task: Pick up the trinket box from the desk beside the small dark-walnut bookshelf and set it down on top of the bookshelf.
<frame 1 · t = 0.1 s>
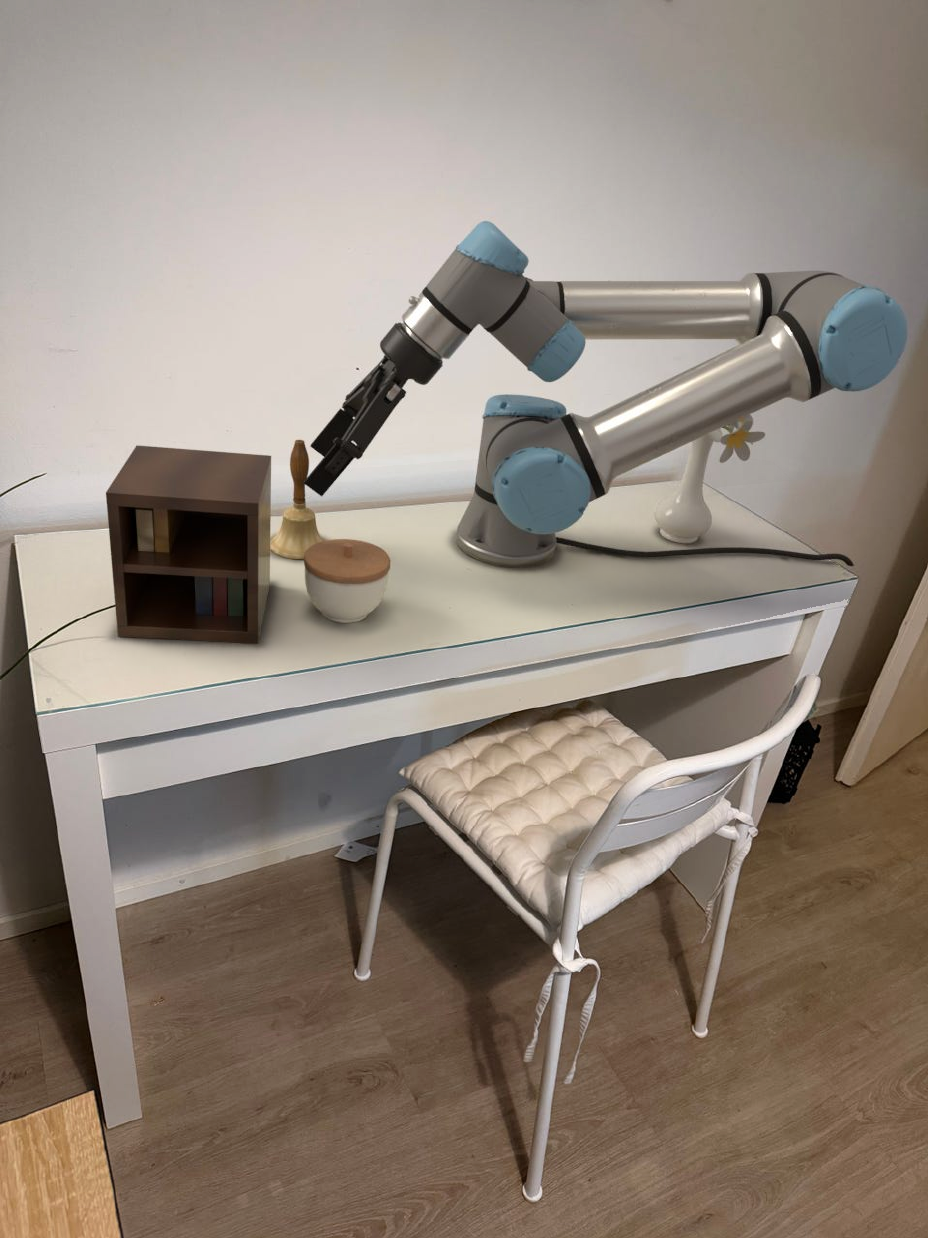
hand: (315, 469, 118), 15 cm above the table, tool tilted 35°, fingers open, 13 cm apart
hand bell: (298, 548, 132), on the table
trinket box: (344, 612, 118), on the table
flower vase: (682, 538, 152), on the table
bookshelf: (198, 608, 114), on the table
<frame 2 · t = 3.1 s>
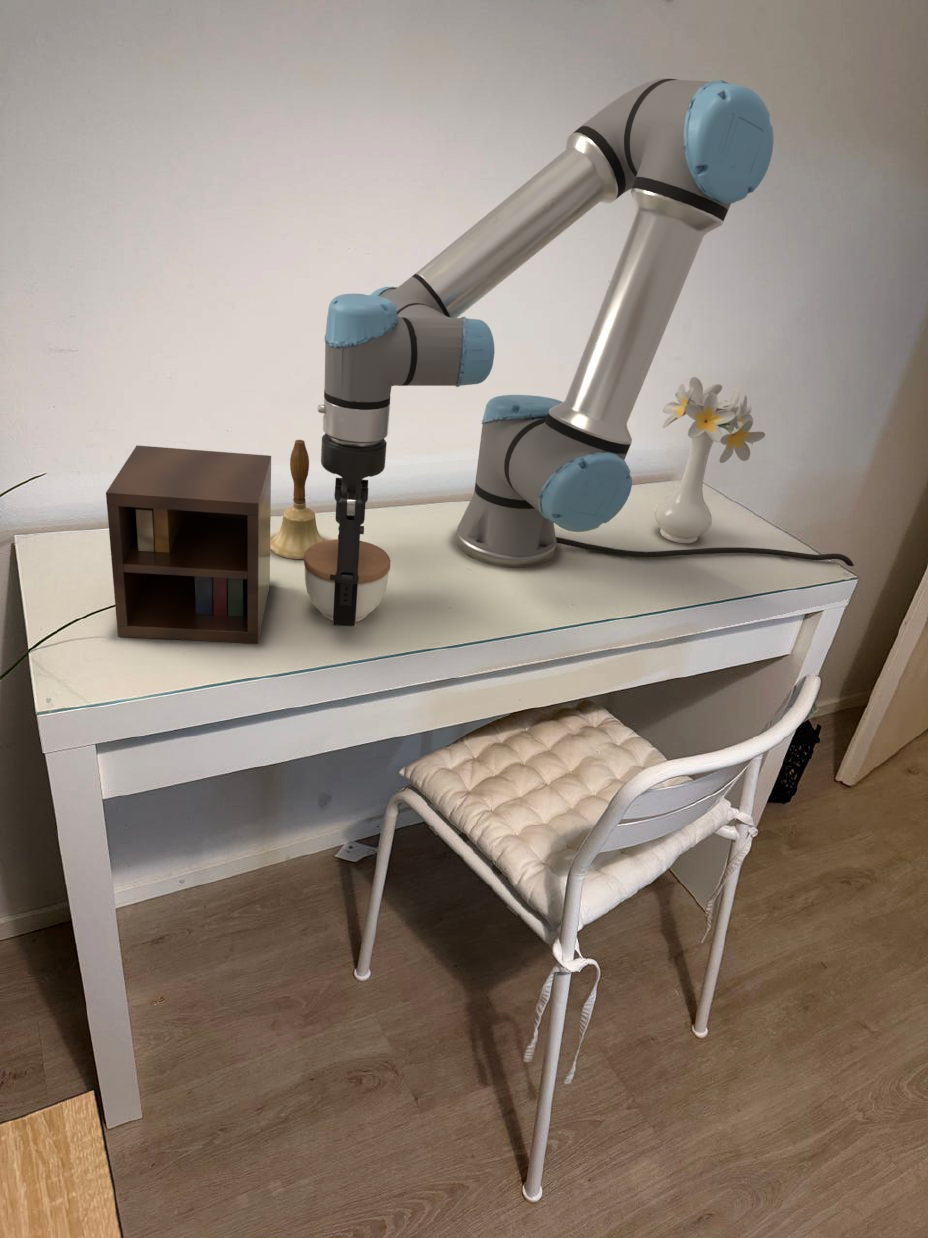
hand: (345, 601, 117), 1 cm above the table, tool pointing down, fingers closed on trinket box, 11 cm apart
trinket box: (344, 612, 118), on the table, touching gripper
everything else where it was.
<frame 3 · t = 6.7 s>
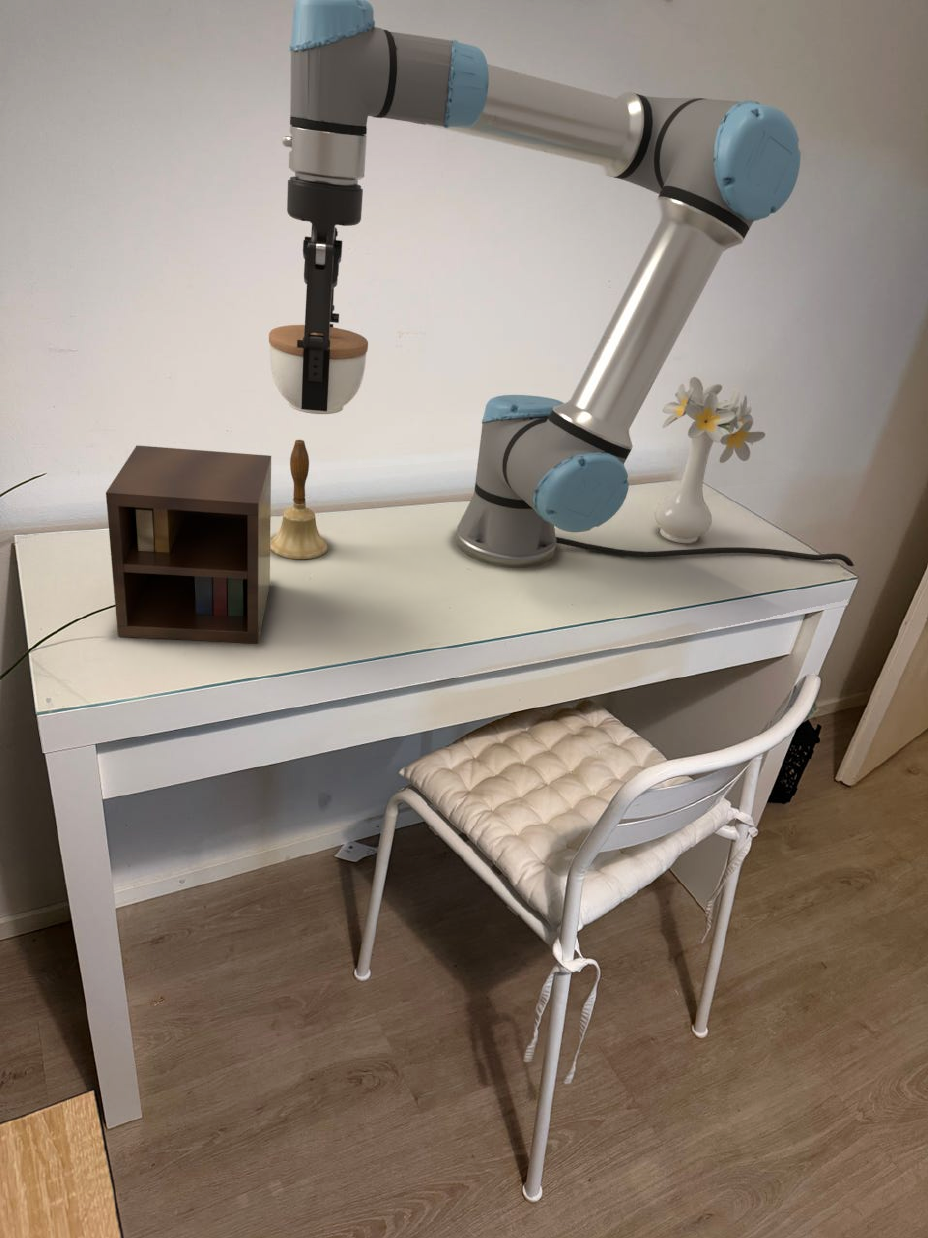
hand: (316, 393, 103), 28 cm above the table, tool pointing down, fingers closed on trinket box, 11 cm apart
trinket box: (316, 407, 104), point 27 cm above the table, touching gripper
everything else where it was.
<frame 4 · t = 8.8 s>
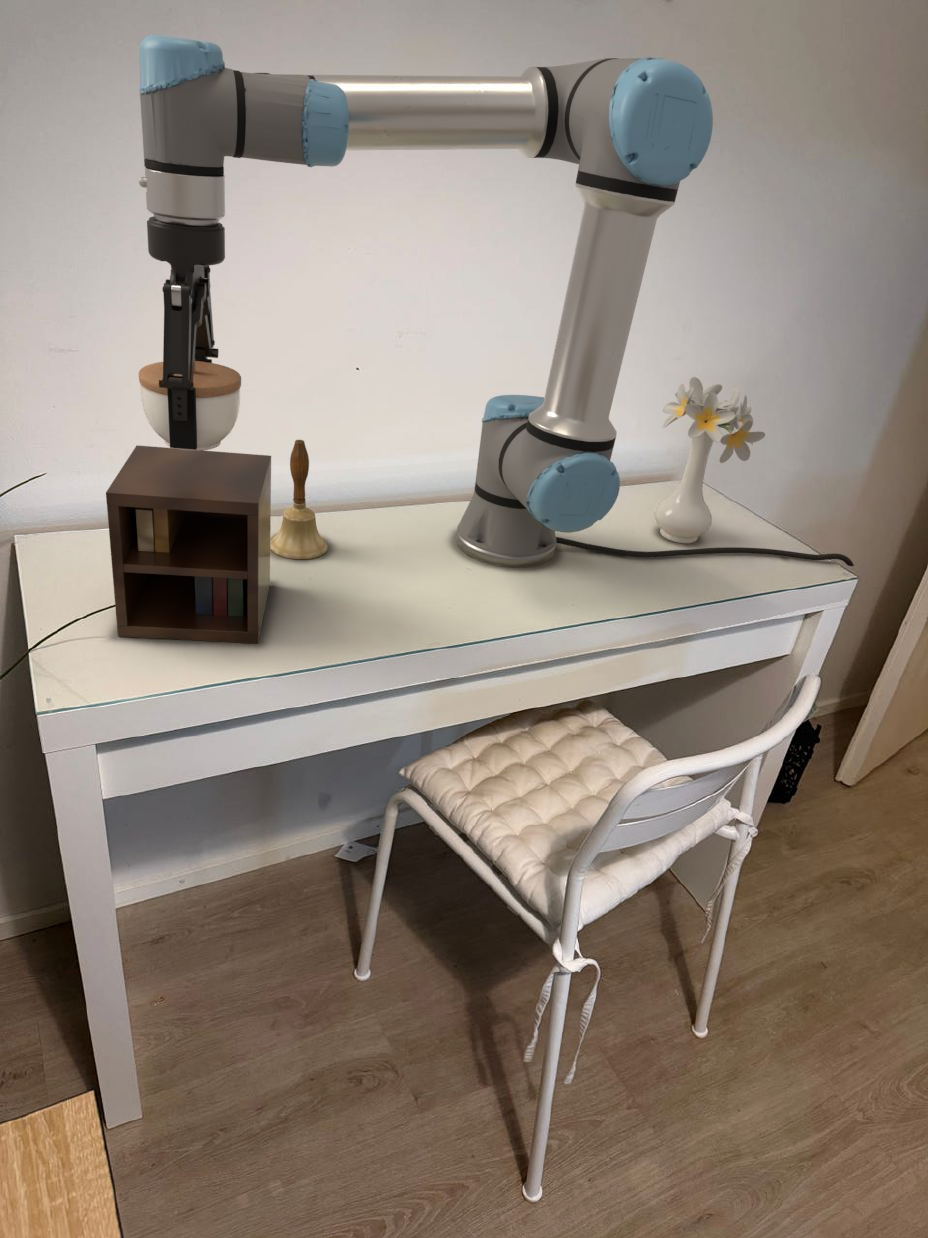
hand: (192, 430, 103), 23 cm above the table, tool pointing down, fingers closed on trinket box, 11 cm apart
trinket box: (192, 443, 103), point 22 cm above the table, touching gripper
everything else where it was.
when the fingers open (19 cm above the table, at t = 10.4 s): trinket box stays where it is, resting on bookshelf.
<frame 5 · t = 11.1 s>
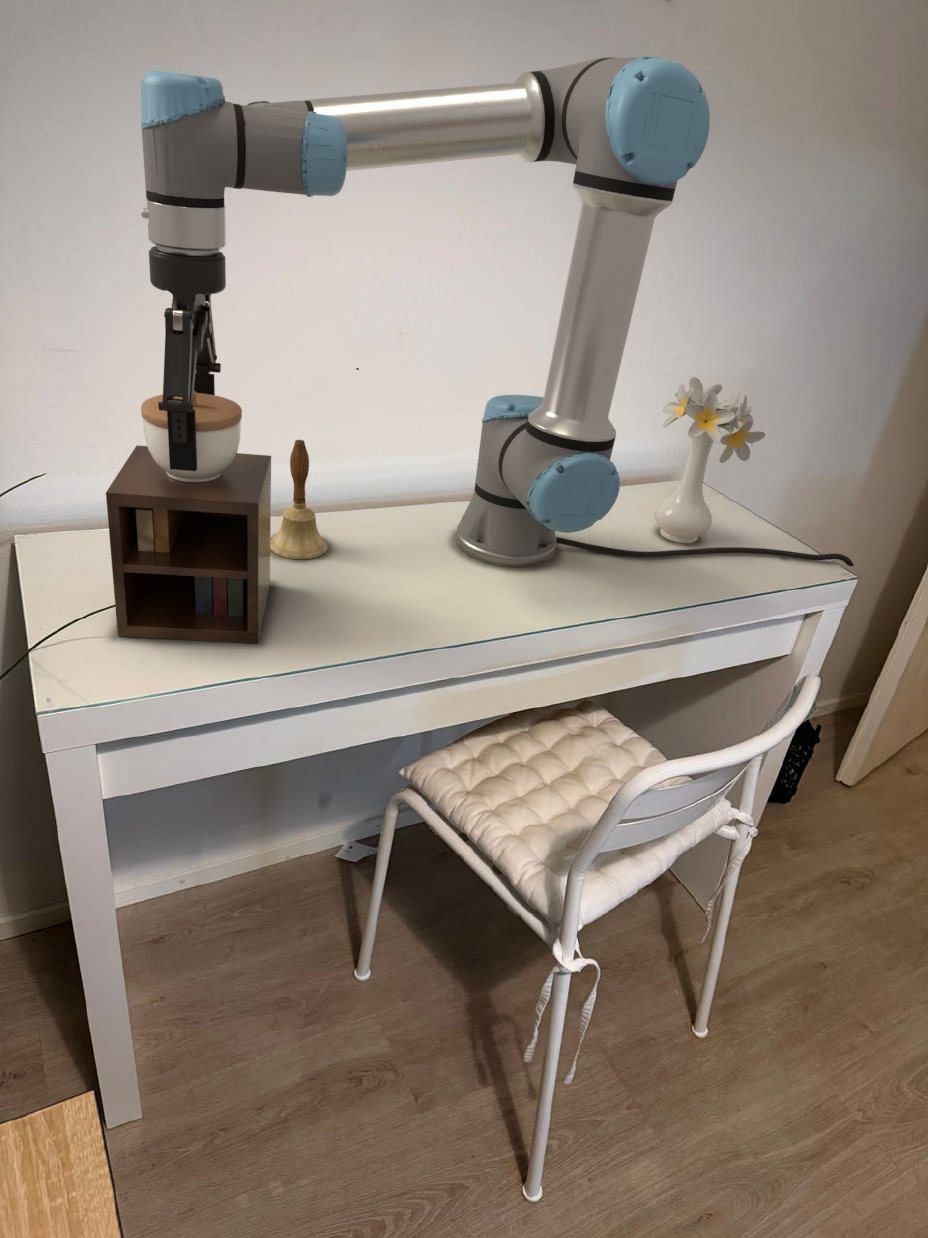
hand: (194, 447, 104), 21 cm above the table, tool pointing down, fingers open, 13 cm apart
trinket box: (194, 474, 105), point 18 cm above the table, touching bookshelf
everything else where it was.
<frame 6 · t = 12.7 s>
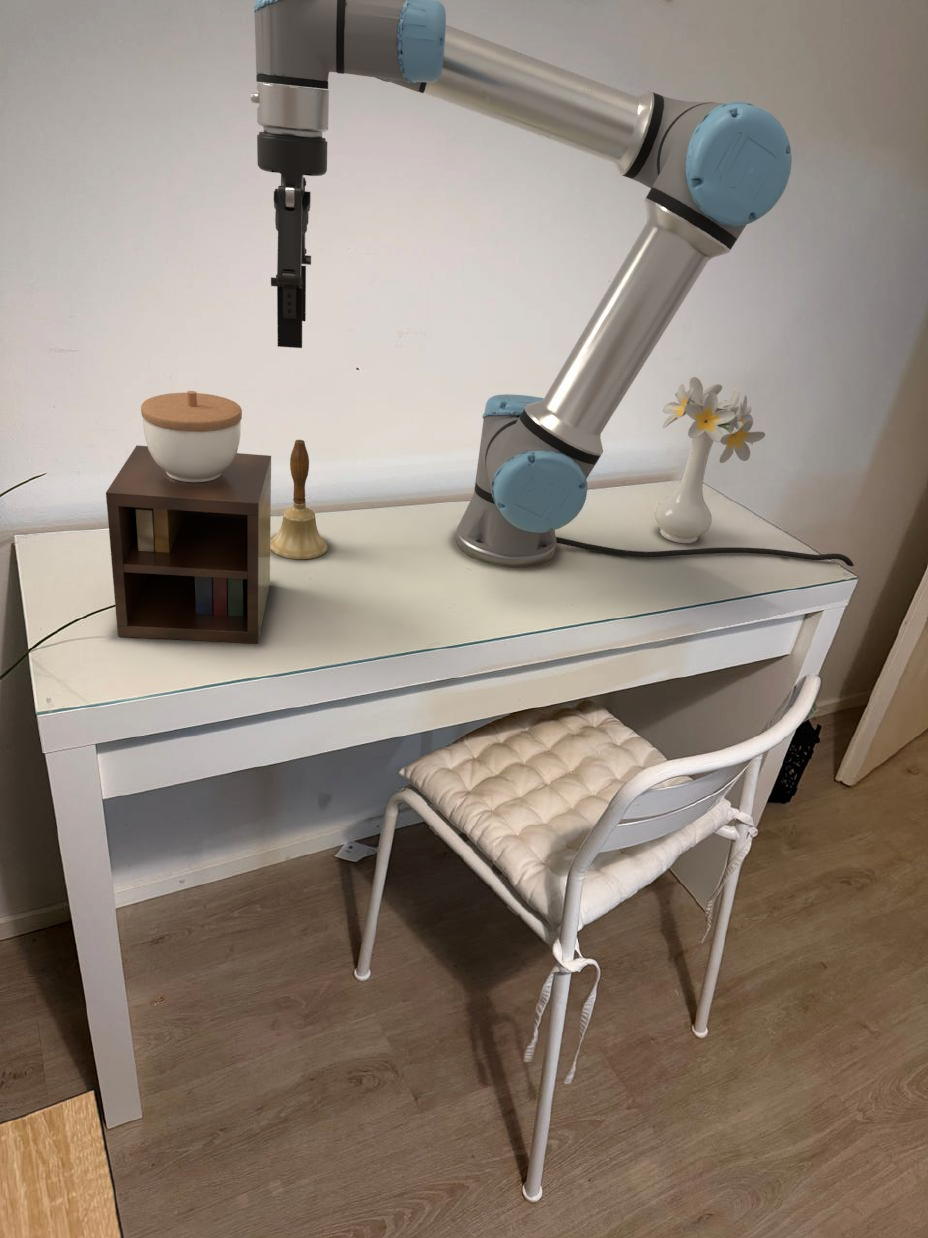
hand: (292, 332, 109), 32 cm above the table, tool pointing down, fingers open, 13 cm apart
nothing on the table moved.
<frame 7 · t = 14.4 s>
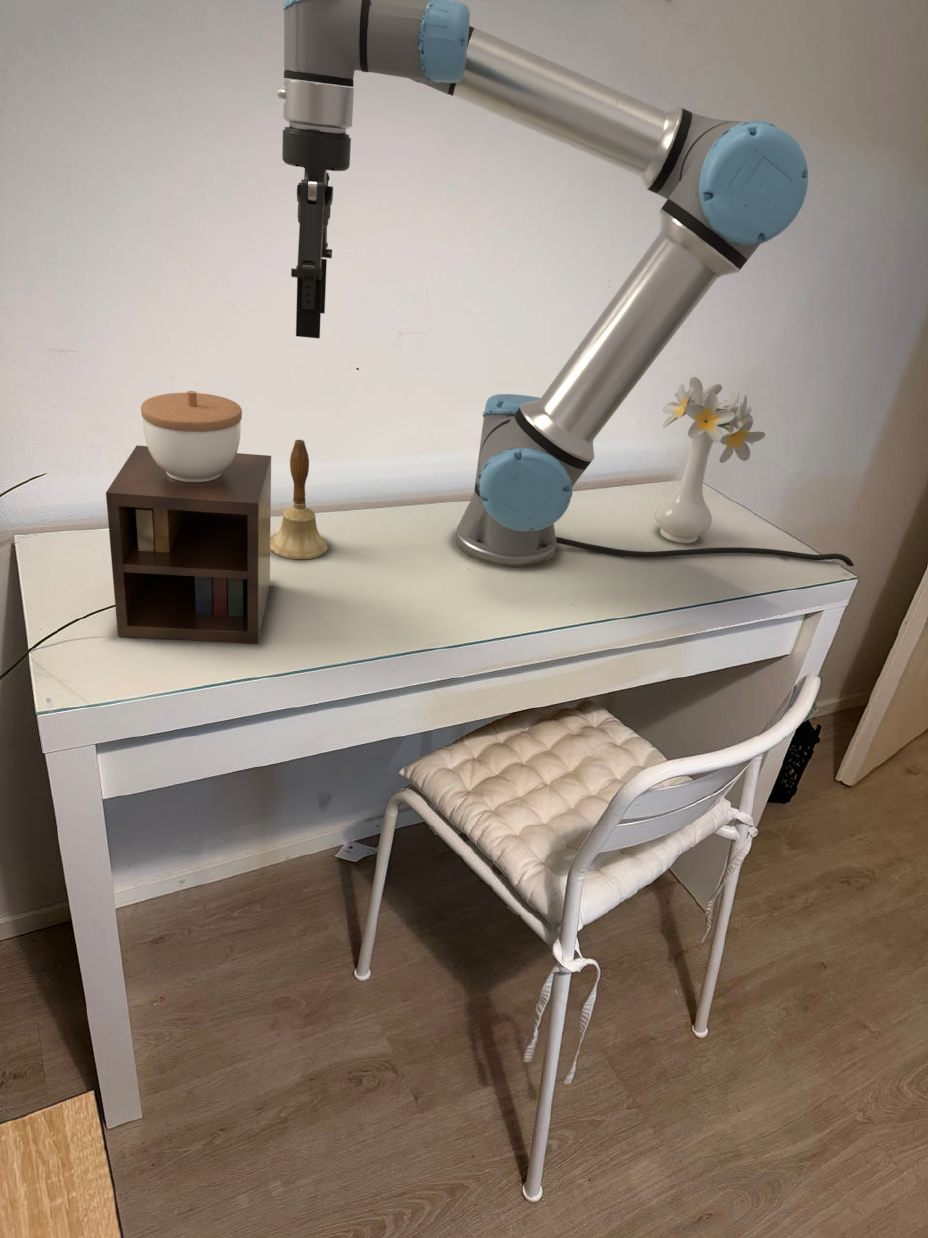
hand: (311, 323, 112), 33 cm above the table, tool pointing down, fingers open, 13 cm apart
nothing on the table moved.
at the end: trinket box inside the target area on the bookshelf (0.0 cm from its centre), point 17.8 cm above the bookshelf's base; trinket box tilted 0°; the gripper is holding nothing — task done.
